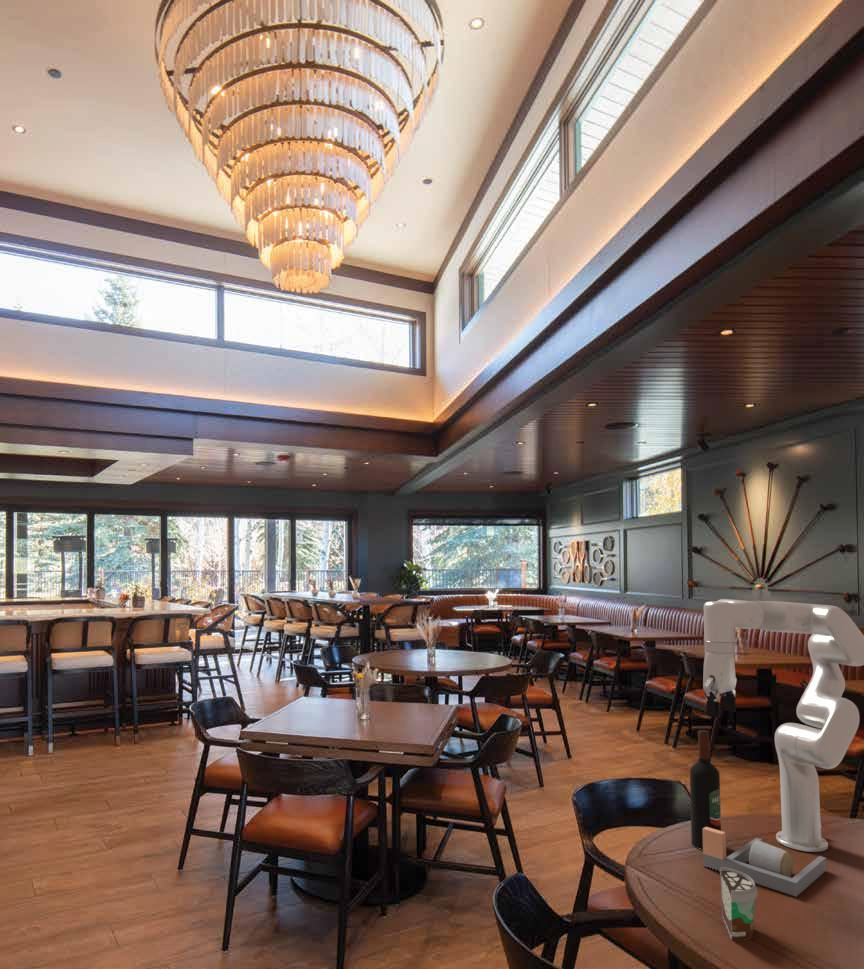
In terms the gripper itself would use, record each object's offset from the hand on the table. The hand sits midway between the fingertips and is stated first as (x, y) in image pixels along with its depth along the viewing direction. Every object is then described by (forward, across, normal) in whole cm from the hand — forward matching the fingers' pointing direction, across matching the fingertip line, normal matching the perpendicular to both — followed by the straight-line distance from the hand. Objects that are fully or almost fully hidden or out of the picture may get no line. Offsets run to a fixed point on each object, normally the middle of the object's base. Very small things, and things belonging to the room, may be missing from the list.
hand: (721, 714), depth 187 cm
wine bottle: (+36, -4, -7) cm, 37 cm away
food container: (+36, +33, +18) cm, 52 cm away
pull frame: (+36, -1, +10) cm, 37 cm away
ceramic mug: (+37, +2, +12) cm, 39 cm away
